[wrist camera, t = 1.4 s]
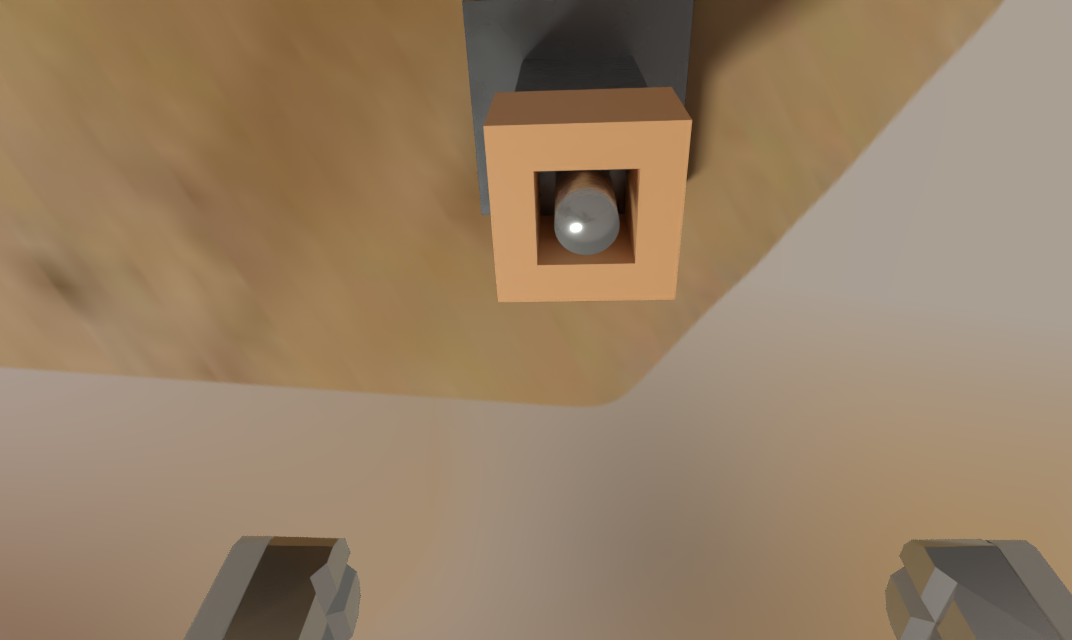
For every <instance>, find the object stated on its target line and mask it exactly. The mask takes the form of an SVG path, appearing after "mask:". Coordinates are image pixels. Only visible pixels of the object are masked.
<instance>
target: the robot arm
mask: <svg viewBox="0 0 1072 640" xmlns="http://www.w3.org/2000/svg"><path fill="white" fill-rule="evenodd" d="M349 555H350V550H349V547H348V545H347V542H346V539H345V538H311V537H278V536H242V537H241V538H240V539H239V540H238V541H237V542H236V543H235V544H234V545H233V546H232V548H231V550H230V552H229V554H228V556H227V558H226V559H225V561H224V563H223V565H222V567H221V569H220V571H219V573H218V575H217V576H216V578H215V580H214V582H213V584H212V586H211V588H210V590H209V592H208V593H207V595H206V597H205V599H204V601H203V603H202V605H201V607H200V609H199V611H198V613H197V615H196V616H195V618H194V620H193V622H192V624H191V626H190V628H189V629H188V631H187V633H186V635H185V637H184V639H183V640H349V639H350V638H351V637H352V636H353V633H354V629H355V626H356V622H357V618H358V613H359V604H360V596H361V595H360V583H359V578H358V575H357V572H356V571H355V570H354V569H353V568H351V567H350V566H348V565H347V561H348V558H349ZM899 556H900V558H901V560H902V562H903V564H904V567H903V568H901V569H900V570H898V571H897V572H895V573H894V574H892V575H891V576H890V579H889V582H888V584H887V587H886V590H885V594H886V610H887V614H888V618H889V621H890V625H891V627H892V629H893V632H894V634H895V636H896V639H897V640H1072V595H1071V593H1070V592H1069V590H1068V589H1067V588H1066V587H1065V585H1064V584H1063V582H1062V581H1061V580H1060V579H1059V577H1058V576H1057V574H1056V573H1055V572H1054V571H1053V569H1052V568H1051V567H1050V565H1049V564H1048V563H1047V561H1046V560H1045V559H1044V557H1043V556H1042V555H1041V553H1040V552H1039V551H1038V550H1037V548H1036V547H1035V546H1033V545H1032V544H1030V543H1029V542H1027V541H1025V540H982V539H936V540H934V539H933V540H932V539H931V540H911V541H909V542H907V543H906V544H904V546H903V549H902V551H901V553H900V555H899Z"/></svg>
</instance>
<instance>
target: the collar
mask: <svg viewBox="0 0 1072 640" xmlns="http://www.w3.org/2000/svg"><path fill="white" fill-rule="evenodd" d="M483 128H484V140H485V152H486V164H487V176H488V188H489V200H490V212H491V224H492V236H493V248H494V260H495V271H496V283H497V295H498V302H542V301H607V300H671V299H675V293H676V283H677V273H678V262H679V252H680V241H681V231H682V221H683V210H684V200H685V190H686V179H687V169H688V159H689V148H690V138H691V128H692V119H691V117H690V116H689V114H688V112H687V111H686V109H685V108H684V106H683V104H682V103H681V101H680V100H679V98H678V96H677V95H676V93H675V92H674V90H673V88H672V87H650V88H619V89H587V90H556V91H524V92H495V95H494V98H493V100H492V103H491V106H490V109H489V112H488V114H487V117H486V120H485V123H484V126H483ZM607 169H627V172H626V196H625V214H618V216H619V222H620V226H619V232H618V235H617V237H616V239H615V241H614V242H613V243H612V244H611V245H610V246H609V247H608V248H607V249H605V250H603V251H602V252H599V253H596V254H592V255H580V254H576V253H573V252H571V251H569V250H567V249H566V248H565V247H564V246H563V245H562V244H561V243H560V242H559V240H558V239H557V236H556V234H555V228H554V222H555V215H549V216H541V212H540V185H539V171H568V170H607Z"/></svg>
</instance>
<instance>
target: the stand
mask: <svg viewBox="0 0 1072 640" xmlns="http://www.w3.org/2000/svg"><path fill="white" fill-rule="evenodd" d="M462 5H463V16H464V27H465V38H466V49H467V60H468V71H469V81H470V92H471V103H472V114H473V125H474V136H475V147H476V158H477V168H478V179H479V190H480V201H481V212H482V215H491V212H490V200H489V188H488V176H487V164H486V152H485V140H484V128H483V126H484V123H485V120H486V117H487V114H488V112H489V109H490V106H491V103H492V100H493V98H494V95H495V92H524V91H556V90H587V89H619V88H650V87H672V88H673V90H674V92H675V93H676V95H677V96H678V98H679V100H680V101H681V103H682V104H683V106H684V108H685V97H686V86H687V75H688V64H689V53H690V41H691V30H692V19H693V8H694V0H463V1H462ZM626 172H627V169H607V170H568V171H539V185H540V212H541V216H549V215H555V222H554V228H555V234H556V236H557V239H558V240H559V242H560V243H561V244H562V245H563V246H564V247H565V248H566V249H567V250H569V251H571V252H573V253H576V254H580V255H592V254H596V253H599V252H602V251H603V250H605V249H607V248H608V247H609V246H610V245H611V244H612V243H613V242H614V241H615V239H616V237H617V235H618V232H619V226H620V222H619V216H618V214H625V196H626Z"/></svg>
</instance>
